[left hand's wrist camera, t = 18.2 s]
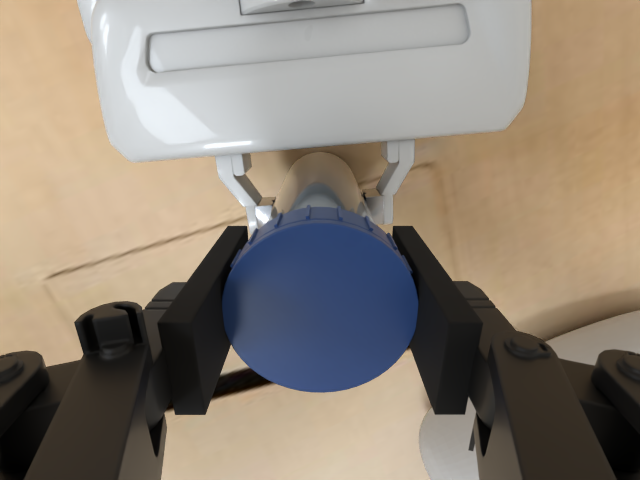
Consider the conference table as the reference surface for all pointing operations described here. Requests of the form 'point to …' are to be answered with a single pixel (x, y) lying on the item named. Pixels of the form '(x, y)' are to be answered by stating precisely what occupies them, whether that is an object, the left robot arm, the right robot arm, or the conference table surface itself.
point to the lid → (320, 300)
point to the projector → (455, 430)
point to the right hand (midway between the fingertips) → (322, 226)
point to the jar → (320, 186)
